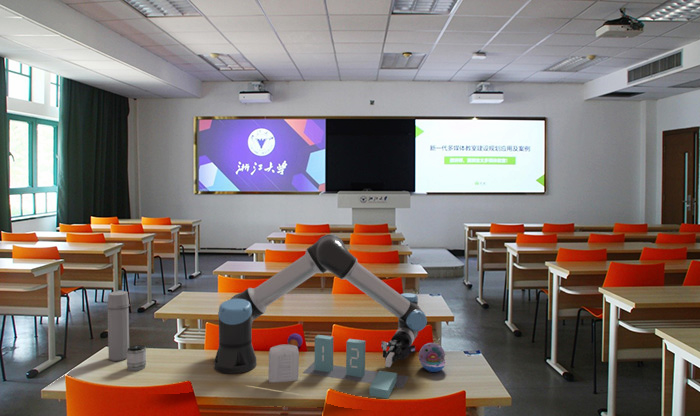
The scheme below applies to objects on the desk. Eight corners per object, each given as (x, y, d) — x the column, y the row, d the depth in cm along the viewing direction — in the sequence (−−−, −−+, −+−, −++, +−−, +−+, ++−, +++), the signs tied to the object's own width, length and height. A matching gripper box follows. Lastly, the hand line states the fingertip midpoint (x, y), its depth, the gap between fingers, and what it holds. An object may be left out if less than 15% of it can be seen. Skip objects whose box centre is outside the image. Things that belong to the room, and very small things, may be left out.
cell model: (422, 377, 167) (423, 350, 166) (415, 364, 179) (416, 339, 178) (450, 377, 168) (451, 350, 167) (442, 363, 180) (442, 338, 179)
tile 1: (314, 370, 171) (314, 337, 170) (317, 366, 174) (317, 334, 173) (329, 372, 169) (330, 339, 168) (333, 369, 172) (333, 336, 171)
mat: (302, 373, 169) (302, 372, 169) (313, 363, 178) (313, 362, 178) (402, 389, 158) (402, 388, 158) (408, 377, 167) (408, 376, 167)
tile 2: (345, 375, 167) (346, 341, 166) (348, 371, 170) (349, 338, 169) (362, 377, 165) (362, 343, 165) (364, 374, 168) (365, 340, 168)
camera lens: (126, 372, 168) (126, 350, 167) (127, 366, 174) (127, 344, 173) (146, 370, 170) (145, 348, 170) (146, 363, 176) (146, 342, 175)
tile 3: (379, 379, 164) (369, 396, 152) (379, 370, 163) (369, 387, 152) (396, 382, 162) (387, 399, 150) (396, 373, 161) (387, 390, 150)
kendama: (275, 353, 177) (288, 332, 197) (279, 368, 178) (291, 345, 198) (291, 351, 177) (302, 330, 196) (294, 366, 177) (304, 343, 197)
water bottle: (121, 362, 176) (120, 296, 175) (103, 360, 178) (101, 294, 176) (137, 353, 185) (136, 290, 184) (119, 351, 187) (118, 289, 185)
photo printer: (297, 376, 167) (298, 341, 166) (299, 381, 163) (299, 346, 162) (268, 378, 164) (268, 343, 164) (268, 384, 160) (268, 348, 159)
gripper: (418, 352, 182) (406, 376, 160) (385, 347, 186) (368, 371, 164) (419, 332, 182) (406, 354, 159) (386, 328, 186) (369, 349, 164)
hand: (387, 363), depth 162 cm, fingers closed
